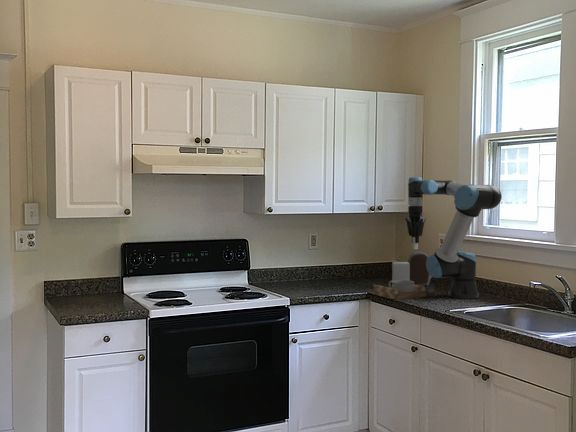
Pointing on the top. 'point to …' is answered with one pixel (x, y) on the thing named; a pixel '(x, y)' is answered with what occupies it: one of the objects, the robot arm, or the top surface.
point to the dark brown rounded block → (419, 268)
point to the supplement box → (400, 271)
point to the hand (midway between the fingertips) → (415, 248)
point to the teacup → (402, 285)
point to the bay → (393, 293)
